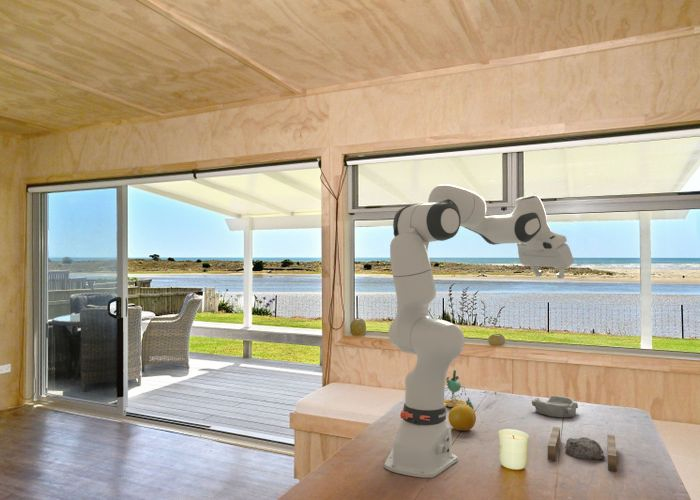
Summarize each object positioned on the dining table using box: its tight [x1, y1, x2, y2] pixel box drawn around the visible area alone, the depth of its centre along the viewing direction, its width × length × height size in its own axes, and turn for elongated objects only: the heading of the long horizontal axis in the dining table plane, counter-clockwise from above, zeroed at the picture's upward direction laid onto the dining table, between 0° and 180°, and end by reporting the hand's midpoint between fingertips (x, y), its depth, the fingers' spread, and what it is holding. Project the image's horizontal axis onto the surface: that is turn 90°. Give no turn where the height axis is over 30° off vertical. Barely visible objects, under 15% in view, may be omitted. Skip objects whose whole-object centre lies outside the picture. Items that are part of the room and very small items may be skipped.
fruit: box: [447, 405, 477, 432], centre depth 165 cm, size 9×8×8 cm
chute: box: [547, 426, 618, 472], centre depth 144 cm, size 18×17×4 cm
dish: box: [531, 395, 579, 418], centre depth 184 cm, size 14×14×5 cm
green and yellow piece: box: [444, 369, 476, 413], centre depth 193 cm, size 10×18×15 cm, turn 22°
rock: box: [564, 437, 605, 461], centre depth 144 cm, size 9×11×4 cm
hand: (550, 276), depth 174 cm, fingers open, 8 cm apart
